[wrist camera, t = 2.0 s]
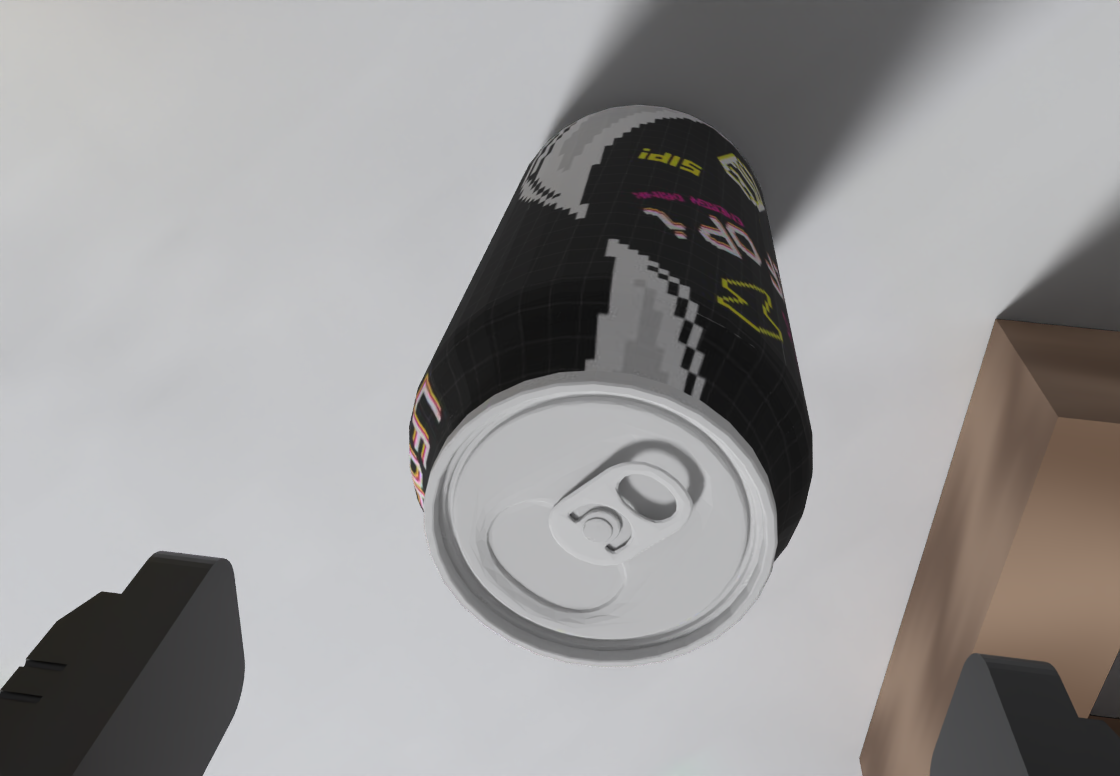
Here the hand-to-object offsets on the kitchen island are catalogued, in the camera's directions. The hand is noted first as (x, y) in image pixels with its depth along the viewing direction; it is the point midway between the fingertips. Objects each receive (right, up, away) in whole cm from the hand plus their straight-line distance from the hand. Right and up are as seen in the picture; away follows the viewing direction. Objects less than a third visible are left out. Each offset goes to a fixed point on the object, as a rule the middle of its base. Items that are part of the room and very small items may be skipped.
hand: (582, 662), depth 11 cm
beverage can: (+2, +7, +12) cm, 14 cm away
